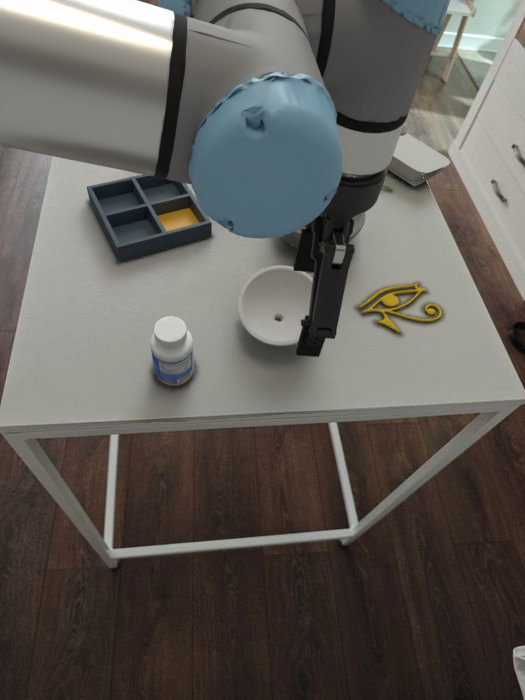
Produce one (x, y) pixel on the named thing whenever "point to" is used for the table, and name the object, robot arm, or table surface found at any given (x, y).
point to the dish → (275, 304)
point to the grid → (148, 215)
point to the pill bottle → (172, 351)
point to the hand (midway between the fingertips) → (305, 309)
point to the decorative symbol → (394, 301)
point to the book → (416, 161)
